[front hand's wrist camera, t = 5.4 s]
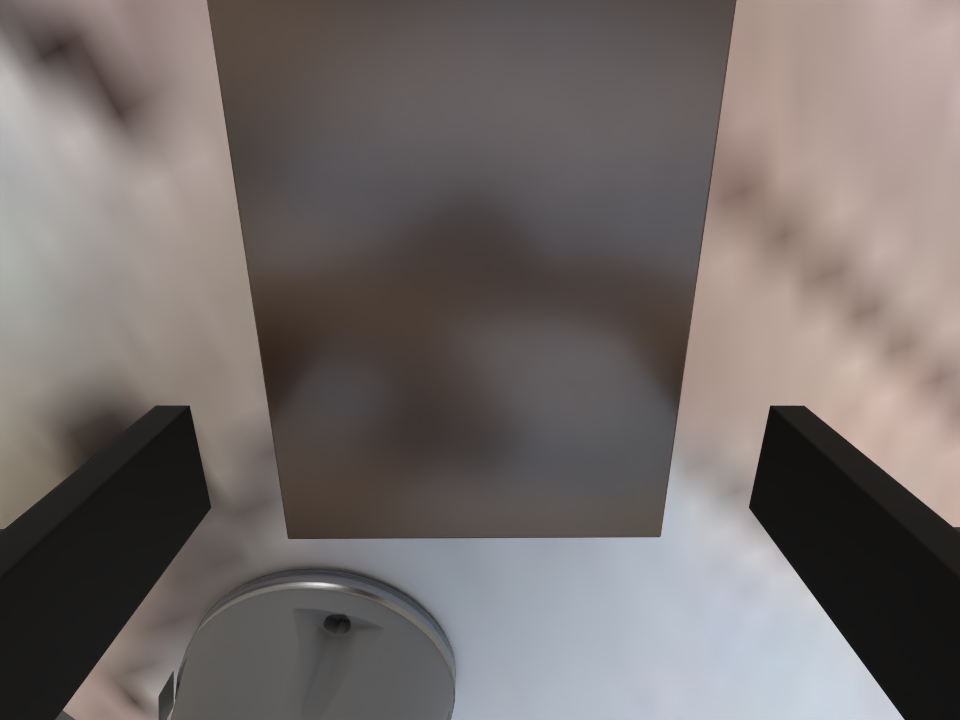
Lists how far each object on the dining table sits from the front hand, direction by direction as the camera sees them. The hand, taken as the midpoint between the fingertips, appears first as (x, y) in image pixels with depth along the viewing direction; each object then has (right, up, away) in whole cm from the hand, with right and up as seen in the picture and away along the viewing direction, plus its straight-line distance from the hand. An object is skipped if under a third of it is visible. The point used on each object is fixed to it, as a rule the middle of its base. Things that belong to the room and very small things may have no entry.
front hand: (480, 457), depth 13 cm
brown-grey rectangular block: (0, +10, +10) cm, 14 cm away
